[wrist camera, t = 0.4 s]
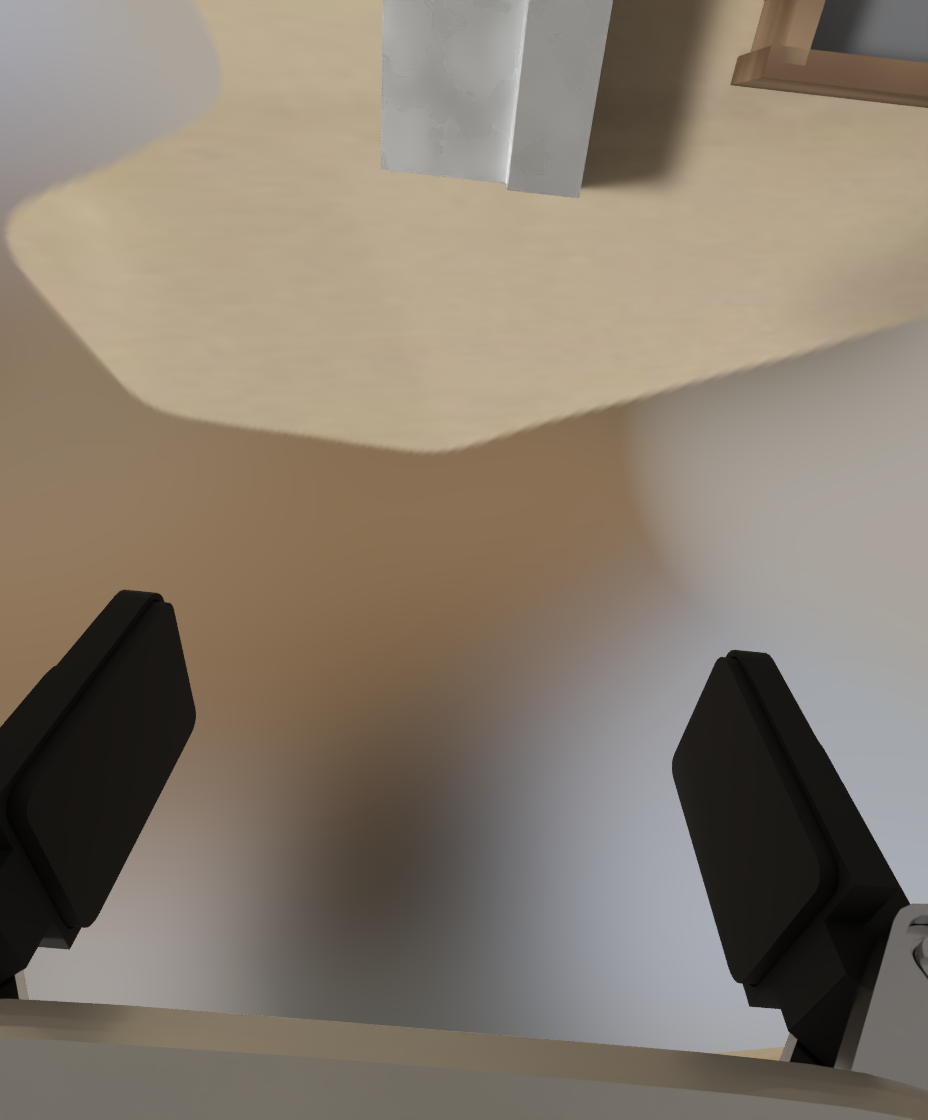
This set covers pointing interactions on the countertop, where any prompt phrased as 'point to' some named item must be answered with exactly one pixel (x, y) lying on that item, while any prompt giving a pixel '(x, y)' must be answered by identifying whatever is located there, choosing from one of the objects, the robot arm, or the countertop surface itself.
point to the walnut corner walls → (822, 62)
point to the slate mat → (874, 28)
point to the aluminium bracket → (492, 89)
